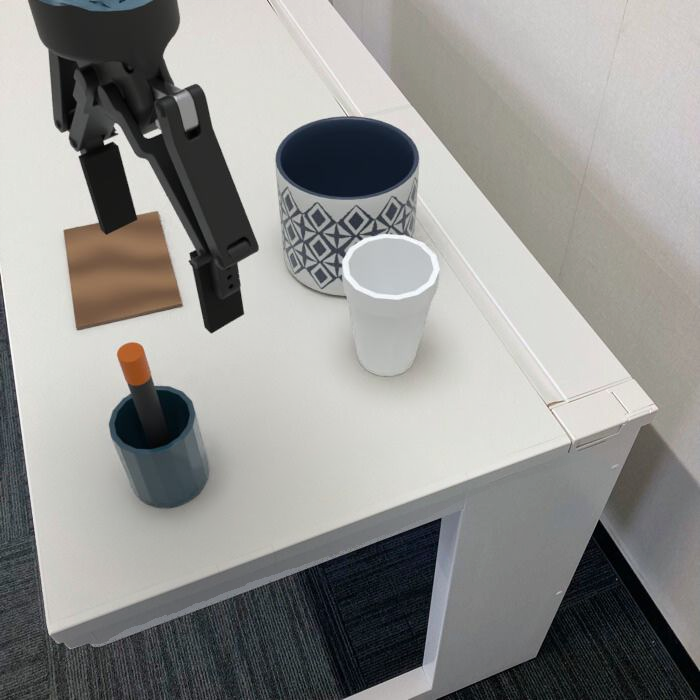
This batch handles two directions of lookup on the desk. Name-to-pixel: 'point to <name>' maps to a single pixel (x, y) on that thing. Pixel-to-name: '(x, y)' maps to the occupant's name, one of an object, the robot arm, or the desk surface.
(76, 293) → the brown wooden board
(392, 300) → the foam cup
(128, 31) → the robot arm
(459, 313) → the desk surface
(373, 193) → the planter
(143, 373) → the marker
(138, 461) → the pen cup
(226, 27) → the desk surface
